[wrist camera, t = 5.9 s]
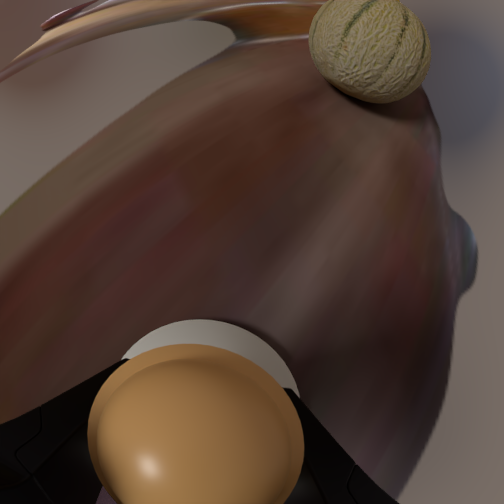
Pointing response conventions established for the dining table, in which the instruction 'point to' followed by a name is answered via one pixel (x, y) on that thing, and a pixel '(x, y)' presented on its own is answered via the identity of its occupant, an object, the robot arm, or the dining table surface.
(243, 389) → the orange domed peg
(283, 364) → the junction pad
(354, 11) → the cantaloupe
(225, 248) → the dining table surface
